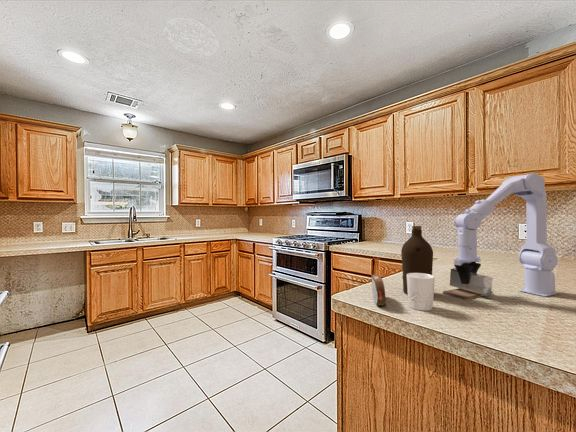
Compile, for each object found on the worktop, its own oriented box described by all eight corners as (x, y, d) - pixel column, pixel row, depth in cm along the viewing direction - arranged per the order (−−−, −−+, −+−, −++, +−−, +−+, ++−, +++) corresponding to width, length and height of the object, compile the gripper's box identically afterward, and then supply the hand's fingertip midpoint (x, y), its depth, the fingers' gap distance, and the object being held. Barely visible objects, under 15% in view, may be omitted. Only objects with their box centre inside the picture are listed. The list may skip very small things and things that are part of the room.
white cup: (432, 304, 86) (431, 273, 86) (437, 313, 78) (436, 279, 78) (405, 302, 88) (405, 272, 88) (408, 310, 81) (407, 277, 81)
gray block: (454, 284, 103) (455, 267, 102) (493, 294, 92) (494, 276, 91) (449, 285, 101) (450, 268, 101) (488, 296, 90) (489, 277, 90)
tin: (386, 309, 81) (386, 282, 81) (375, 309, 82) (375, 281, 82) (379, 295, 96) (379, 272, 96) (370, 294, 97) (370, 271, 97)
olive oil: (440, 296, 94) (439, 226, 94) (413, 298, 92) (412, 226, 92) (420, 288, 104) (420, 225, 104) (395, 290, 102) (395, 225, 102)
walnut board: (469, 288, 104) (469, 286, 104) (492, 293, 97) (492, 291, 97) (442, 293, 97) (442, 291, 97) (465, 299, 90) (465, 297, 90)
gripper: (469, 248, 90) (469, 288, 90) (489, 245, 97) (489, 282, 97) (448, 246, 96) (448, 283, 96) (468, 244, 104) (468, 278, 103)
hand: (467, 283), depth 97 cm, fingers closed on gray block, 3 cm apart
